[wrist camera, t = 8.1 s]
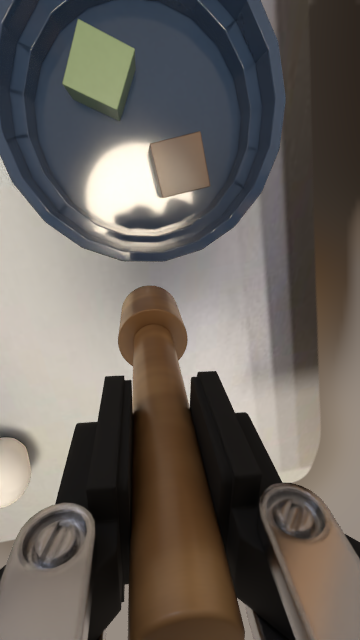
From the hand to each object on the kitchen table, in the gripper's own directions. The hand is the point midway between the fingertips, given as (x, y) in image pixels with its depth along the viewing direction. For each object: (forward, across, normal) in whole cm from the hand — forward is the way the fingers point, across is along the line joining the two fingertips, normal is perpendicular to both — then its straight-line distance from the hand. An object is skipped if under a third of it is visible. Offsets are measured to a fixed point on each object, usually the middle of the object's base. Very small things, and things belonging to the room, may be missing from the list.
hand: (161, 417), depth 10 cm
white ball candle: (+25, +16, +22) cm, 37 cm away
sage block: (+24, +3, -14) cm, 28 cm away
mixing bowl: (+24, 0, -11) cm, 27 cm away
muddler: (+10, 0, 0) cm, 10 cm away
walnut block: (+24, -3, -8) cm, 25 cm away
